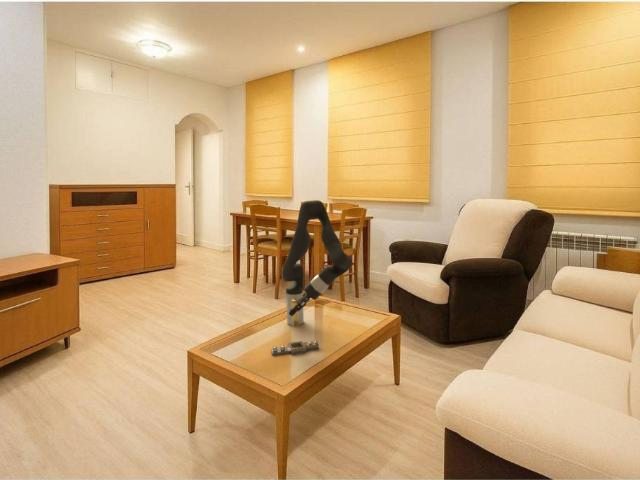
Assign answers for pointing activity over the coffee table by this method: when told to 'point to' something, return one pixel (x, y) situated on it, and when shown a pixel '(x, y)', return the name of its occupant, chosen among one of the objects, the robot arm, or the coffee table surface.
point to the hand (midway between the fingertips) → (290, 313)
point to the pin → (296, 316)
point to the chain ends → (295, 348)
